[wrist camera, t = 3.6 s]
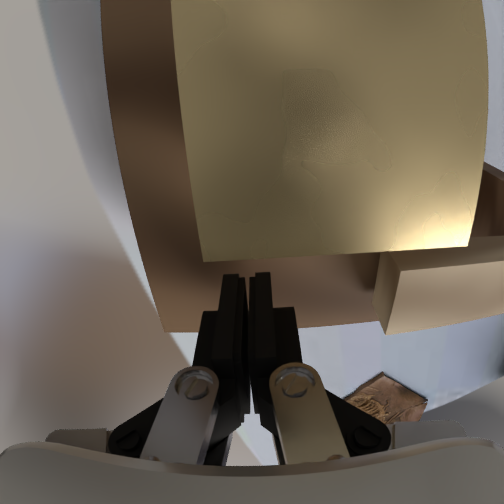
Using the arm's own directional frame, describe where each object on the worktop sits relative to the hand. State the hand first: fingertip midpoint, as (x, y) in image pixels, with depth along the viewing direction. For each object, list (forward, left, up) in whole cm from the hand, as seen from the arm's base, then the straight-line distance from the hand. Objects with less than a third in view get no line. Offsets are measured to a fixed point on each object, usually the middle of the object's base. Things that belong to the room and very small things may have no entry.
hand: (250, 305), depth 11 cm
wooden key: (0, +12, -1) cm, 12 cm away
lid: (-7, +2, -3) cm, 8 cm away
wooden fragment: (+31, +16, -10) cm, 36 cm away
